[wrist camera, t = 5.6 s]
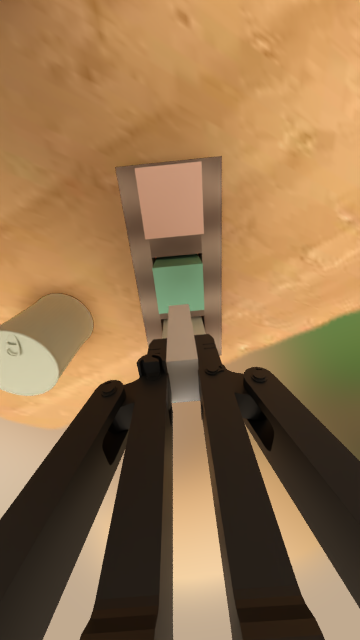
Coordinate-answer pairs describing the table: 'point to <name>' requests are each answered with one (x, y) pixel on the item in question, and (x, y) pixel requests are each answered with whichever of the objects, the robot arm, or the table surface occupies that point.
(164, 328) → the cream block
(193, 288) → the green block
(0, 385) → the can
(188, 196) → the terracotta block
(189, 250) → the walnut board
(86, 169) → the table surface
